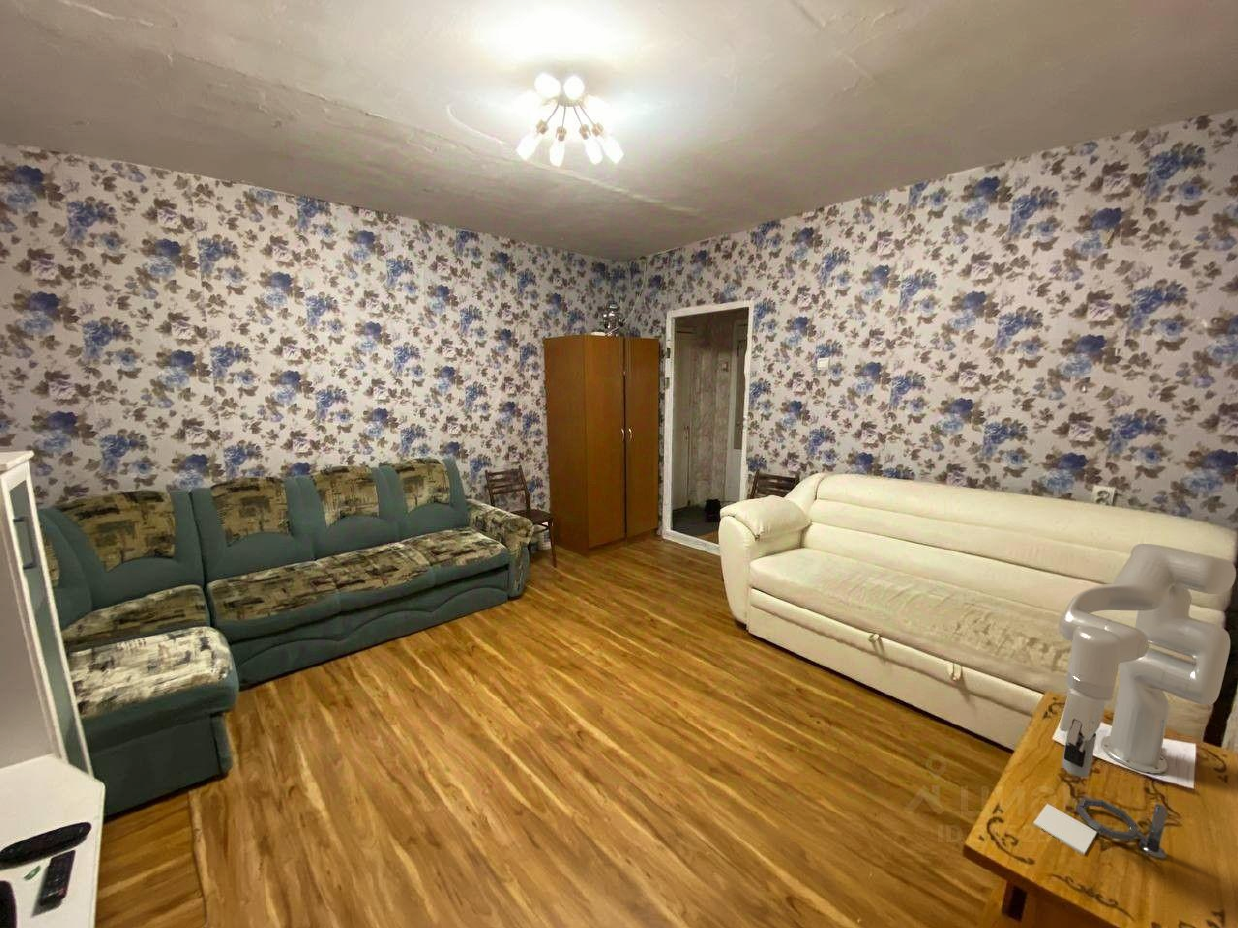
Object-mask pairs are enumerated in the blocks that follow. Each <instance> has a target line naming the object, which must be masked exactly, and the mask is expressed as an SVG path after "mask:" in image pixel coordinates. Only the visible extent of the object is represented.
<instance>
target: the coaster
mask: <svg viewBox="0 0 1238 928" xmlns="http://www.w3.org/2000/svg"><path fill="white" fill-rule="evenodd" d="M1032 825H1033V826H1034V827H1036V826H1037V827H1036V828H1038V827H1039V828H1041V829H1043V830H1044V831H1046V832H1048V833H1049V834H1051V835H1052V836H1051V835H1050V836H1051V837H1053V836H1054V837H1056V838H1057V839H1056V838H1055V839H1056V840H1058V839H1059V840H1060V841H1059V840H1058V841H1059V842H1061V843H1063V844H1064V845H1066V846H1068V847H1069V848H1071V849H1073V850H1074V851H1076V852H1078V853H1079V854H1081V855H1083V856H1085V855H1086V853H1087V851H1088V850H1089V848H1090V846H1091V845H1092V843H1093V841H1094V839H1095V837H1096V836H1097V834H1098V830H1096V829H1094V828H1093V827H1091V826H1089V825H1087V824H1084V823H1082V822H1081V821H1079V820H1078V819H1075V817H1074V818H1073V817H1072V816H1070V815H1069V814H1066V813H1065V812H1063V811H1062V810H1060V809H1057V808H1055V807H1054V806H1053V805H1050V804H1048V803H1046V805H1045V806H1043V809H1042V810H1041V811H1040V812H1039V814H1038V815H1037V817H1036V818H1035V819H1034V820H1033V823H1032ZM1039 828H1038V829H1039ZM1041 829H1040V830H1041ZM1043 830H1042V831H1043ZM1044 831H1043V832H1044ZM1046 832H1045V833H1046ZM1048 833H1047V834H1048ZM1049 834H1048V835H1049ZM1054 837H1053V838H1054Z"/></svg>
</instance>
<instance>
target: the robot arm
mask: <svg viewBox="0 0 1238 928" xmlns="http://www.w3.org/2000/svg"><path fill="white" fill-rule="evenodd" d="M1236 577H1237V570H1236V567H1235V565H1234V563H1233V562H1232V561H1230V559H1226V558H1222V557H1218V556H1214V555H1213V556H1212V555H1207V554H1203V553H1200V552H1193V551H1188V550H1184V549H1179V548H1176V547H1171V546H1165V545H1160V544H1151V543H1140V544H1136V545H1134V546H1133V547H1132V549H1131V550H1130V556H1129V557H1128V559H1127V560H1126V562H1125V563H1124V565H1123V566H1122V568H1121V570H1120V571H1119V572H1118V574H1117V576H1116V578H1115V580H1113V582H1111V583H1109V582H1108V583H1105V584H1101V585H1096V586H1093V587H1090V588H1087V589H1085V590H1083V591H1081V592H1079V593H1077V594H1076V595H1075V596H1073V598H1072V599H1071V600H1070V602H1069V603H1068V604H1067V606H1066V607H1065V609H1064V611H1063V612H1062V614H1061V615H1060V618H1059V620H1058V631H1059V634H1060V635H1061V636H1062V637H1063V638H1064V639H1066V640H1068V641H1070V642H1071V647H1070V653H1069V660H1068V666H1067V673H1066V679H1065V686H1066V687H1067V688H1068V689H1069V690H1068V693H1067V696H1066V699H1065V702H1064V707H1063V710H1062V711H1063V712H1062V715H1061V721H1060V724H1059V729H1060V730H1061V731H1062V732H1065V733H1067V730H1068V729H1069V728H1070V730H1069V734H1068V738H1067V742H1066V741H1065V742H1066V746H1065V745H1064V748H1065V752H1064V751H1063V754H1064V759H1065V760H1067V761H1069V762H1071V763H1073V764H1075V765H1077V766H1079V767H1083V765H1084V759H1085V753H1086V751H1085V750H1084V748H1085V744H1086V741H1089V740H1090V739H1091V738H1092V736H1093V735H1094V734H1095V733H1096V732H1097V731H1098V729H1099V728H1100V726H1101V725H1102V724H1101V723H1102V720H1103V716H1104V711H1105V705H1106V704H1105V703H1106V702H1111V701H1112V700H1113V699H1114V694H1115V687H1116V683H1117V676H1118V673H1119V685H1118V690H1117V698H1116V703H1115V707H1114V708H1115V709H1114V713H1113V718H1112V719H1113V720H1112V724H1111V730H1110V735H1106V736H1104V737H1102V738H1101V740H1100V746H1101V749H1102V750H1103V751H1104V752H1105V754H1107V755H1108V756H1110V757H1111V758H1112V759H1113V760H1115V761H1116V762H1119V763H1121V764H1122V765H1124V766H1126V767H1129V768H1131V769H1134V770H1136V771H1140V772H1143V773H1147V772H1150V773H1149V774H1154V773H1159V774H1163V773H1162V772H1164V773H1165V772H1166V771H1167V769H1168V763H1167V761H1166V759H1164V757H1163V756H1161V753H1162V748H1163V745H1164V744H1163V743H1164V738H1165V734H1166V728H1167V723H1168V720H1169V716H1170V711H1171V710H1170V709H1171V707H1170V702H1169V700H1168V697H1167V696H1166V694H1165V693H1167V694H1169V695H1173V696H1175V697H1178V698H1181V699H1183V700H1186V701H1189V702H1191V703H1194V704H1198V705H1201V706H1210V705H1212V704H1214V703H1215V702H1216V701H1217V699H1218V697H1219V696H1220V692H1221V689H1222V685H1223V684H1222V683H1223V680H1224V676H1225V672H1226V667H1227V663H1228V659H1229V655H1230V650H1231V639H1230V634H1229V632H1228V631H1227V630H1225V629H1224V627H1221V626H1219V625H1216V624H1214V623H1212V622H1208V621H1203V620H1200V619H1197V618H1193V617H1190V608H1191V604H1192V598H1193V597H1192V595H1191V592H1190V591H1189V590H1191V591H1195V592H1200V593H1203V594H1209V595H1221V594H1225V592H1226V593H1227V591H1229V590H1230V589H1231V588H1232V587H1233V585H1234V583H1235V581H1236ZM1100 611H1137V614H1136V619H1135V626H1130V625H1128V624H1124V623H1122V622H1120V621H1119V622H1118V621H1115V620H1112V619H1109V618H1105V617H1103V616H1099V615H1096V614H1093V613H1094V612H1100ZM1150 645H1154V646H1156V647H1159V648H1162V649H1165V650H1168V651H1171V652H1174V653H1178V654H1180V655H1183V656H1187V657H1189V658H1192V660H1194V661H1191V660H1188V659H1185V658H1183V657H1179V656H1175V655H1174V654H1170V653H1168V652H1165V651H1162V650H1158V649H1155V648H1152V647H1150ZM1118 671H1119V672H1118ZM1080 733H1081V734H1082V735H1083V736H1082V735H1079V734H1080ZM1078 738H1079V739H1081V740H1082V741H1081V744H1080V742H1078ZM1160 772H1161V773H1160Z"/></svg>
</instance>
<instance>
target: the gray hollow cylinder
mask: <svg viewBox="0 0 1238 928" xmlns="http://www.w3.org/2000/svg"><path fill="white" fill-rule="evenodd" d="M1069 730H1070V728H1069V729H1068V730H1067V731H1066V736H1065V737H1066V738H1065V743H1064V749H1063V756H1062V761H1061V767H1062V768H1063V769H1064V770H1065V771H1066V772H1067V773H1069V774H1071V775H1072V776H1073V775H1074V776H1076V777H1078V778H1084V779H1085V778H1088V777H1089V775H1090V770H1091V766H1092V760H1093V755H1094V749H1095V743H1096V738H1097V734H1096V732H1095V734H1094V735H1093V736H1092V738H1091V739H1090V740H1089V741H1086V744H1085V748H1084V750H1085V751H1086V753H1085V759H1084V765H1083V767H1079V766H1077V765H1075V764H1073V763H1071V762H1069V761H1067V760H1065V759H1064V752H1065V746H1066V742H1067V738H1068V734H1069ZM1079 735H1082V734H1081V733H1080V734H1079ZM1082 736H1083V735H1082ZM1081 741H1082V740H1081V739H1079V738H1078V742H1080V744H1081Z"/></svg>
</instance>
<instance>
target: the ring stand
mask: <svg viewBox="0 0 1238 928" xmlns="http://www.w3.org/2000/svg"><path fill="white" fill-rule="evenodd" d="M1090 807H1097V808H1102V809H1104V810H1106V811H1108V812H1110V813H1112V814H1114V815H1115V816H1117V817H1119V818H1121V819H1122V820H1123V821H1124V822H1125V824H1126V825H1128V828H1129V829H1128V831H1121V830H1116V829H1115V830H1114V829H1113V830H1112V829H1111V828H1110V827H1107V826H1105V825H1103V824H1102V823H1100V822H1098V821H1096V820H1094V819H1093V818H1092V817H1091V815H1089V813H1088V812H1087V811H1090ZM1153 808H1154V809H1153V812H1152V813H1153V814H1152V818H1151V823H1150V829H1149V832H1148V835H1145V834H1144V833H1142V832H1140V831H1139V829H1140V826H1139V825H1138V824H1137V823H1136V822H1135V821H1134V820H1133V819H1132V817H1131V816H1129V815H1128V813H1127V811H1125V810H1123V809H1121V808H1119V807H1117V806H1115V805H1113V804H1111V803H1109V802H1107V801H1106V800H1103V799H1099V798H1092V797H1091V798H1090V797H1085V796H1084V797H1081V799H1080V800H1079V802H1078V803H1077V805H1076V812H1077V814H1079V816H1080V817H1081V818H1082V819H1083V820H1084V822H1085V823H1086V825H1087V826H1088V827H1090V828H1092V829H1093V830H1095V831H1097V834H1096V836H1098V837H1101V838H1103V834H1104V835H1105V836H1107V837H1109V838H1111V839H1113V840H1121V841H1127V842H1135V839H1136V838H1138V840H1139V839H1140V841H1139V843H1138V846H1139V848H1140V849H1141V851H1142V852H1143V853H1145V854H1146V855H1148V856H1150V857H1152V858H1154V859H1157V860H1165V859H1166V857H1167V853H1166V851H1165V850H1164V849H1163V848H1162V847H1160V845H1161V842H1162V837H1163V833H1164V829H1165V828H1164V827H1165V823H1166V818H1167V814H1168V809H1167V807H1165V806H1163V805H1161V804H1157V803H1156V804H1154V807H1153Z"/></svg>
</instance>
